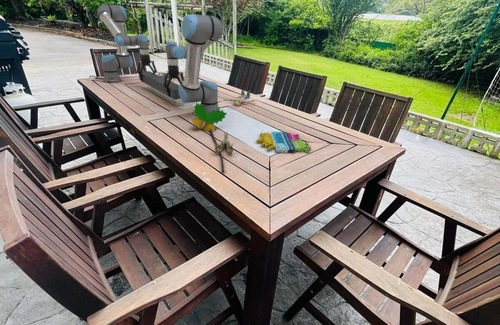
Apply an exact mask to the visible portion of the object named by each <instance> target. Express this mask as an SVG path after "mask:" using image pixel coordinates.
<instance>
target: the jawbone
mask: <svg viewBox="0 0 500 325" xmlns="http://www.w3.org/2000/svg"><path fill="white" fill-rule="evenodd" d="M223 135H224V136H223V140H222V139H221V142H220V144H218V142H217V141H216V144H217V146H216V144H215V148H214V149H215V152H214V154H215V155H217V156H218V155H219V156H220V154H219V152H221V153H222V152H223V151H224V150H226V152H227V153H228V155H229V156H233V155H234V154H233V153H234V148H233V144H234V143H230V140H228V139H229V138H228V137H229V136H228V135H229V133H228V131H226V132H224V134H223Z"/></svg>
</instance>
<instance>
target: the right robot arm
mask: <svg viewBox="0 0 500 325" xmlns="http://www.w3.org/2000/svg"><path fill="white" fill-rule="evenodd" d="M181 34H182V37H183V38H184V41H185V42H186V43H187V44H186V45H182V46H181V45H178V43H177V42H176V41H173V40H171V41H169V40H167V41H166V42H165V51H166V61H167V71H168V72H163V73H164V82H163V87H165V88H166V92H167V95H168V96H167V97H168V98H170V90H169V88H168V87H169V85H170V82H172V80H174V79H176V80H177V81H178V83H179V84H178V85H179V86H178V92H179V96H180V99H179V100H181V102H182V103H184V104H192V103H196V102H197V103H200V104H201V106H204V109H206V112H208V113H211V112H212V110H214V111H216V110H217V109H219V111H221V110H220V109H221V107H220V106H219V102H218V99H219V98H218V97H219V87H218V84H217V83H216V82H215V81H211V80H200V81H199V79H200V71H201V62H202V58H203V57H204V53H205V51H206V50H207V49H208V48H209V47H210V46H211V45H212V44H213V43H216V42H218V41H219V40H220V39H221V38H222V37H223V34H224V26H223V24H222V22H221V20H220V19H219V18H217V17H216V16H214V15H206V14H205V15H204V14H195V13H193V14H186V15H185V16H183V19H182V21H181ZM183 59H185V70H184V72H182V71H180V68H179V60H183ZM179 74H180V75H179ZM168 75H169V79H168V78H167V76H168ZM167 80H168V81H167ZM166 83H167V84H166ZM208 113H207V115H208ZM209 133H210V135H211V138H212V140H213V142H214V144H215V147H216V146H217V144H218V143H217V144H216V142H217V140H216V138H215V136H214V134H213V132H212V131H211V129H210V131H209ZM219 158H220V163H221V173H222V174H224V173H225V166H224V159H223V155H222V151H221V152H219Z"/></svg>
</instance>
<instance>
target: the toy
mask: <svg viewBox="0 0 500 325" xmlns="http://www.w3.org/2000/svg"><path fill="white" fill-rule="evenodd" d="M240 92H241V93H240V95H238V96H237V97H235V99H233V98H230V99H228V98H227V97H226V96H225V97H224V98H223V101H224V102H233V103H232V104H233V105H235V106H242V103H243V104H247V105H252V106H255V105H256V104H257V103H256V102H254V101H253V100H252V101H251V102H250V101H248V100H246V99H248V98H250V97H251V90H250V89H249V90H248V91H247V92H246V93H245V91H244V89H242V90H241V91H240Z"/></svg>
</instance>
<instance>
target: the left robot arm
mask: <svg viewBox="0 0 500 325" xmlns="http://www.w3.org/2000/svg"><path fill="white" fill-rule="evenodd" d="M96 14H97V17H98V19H99V20H100V22H102V23H104V25H105V26H106V27H107V29H108V30H109V31H110V33H111V34H112V36H113V38H114V39H113V40H114V44H115V45H116V53H115V54H105V55H101V63H102V68H103V77H98V76H95V75H89V76H88V78H89V79H90V78H95V80H98V79H99V80H102V79H103V82H105V83H119V82H121V81H122V78H121V76H120V73H119V70H122V69H131V68H132V67H133V64H134V62H133V60H134V59H133V57H132V56H131V55H130V53H129V52H128V47H133V46H135V47H136V46H137V47H138V48H139V54H140V55H139V56H140V60H138V61H137V66H136V74H138V77H139V76H140V78H141V81H140V82H142V83H144V82H143V77H142V74H141V73H142V72H144V71H143V70H144V68H145V67H149V68H150V70H151V72H152V73H154V74H157V73H156V72H158V70H157V68H156V65H155V61H154V60H151V56H150V46H149V37H148V35H147V34H143V33H140V34H139V33H138V34H137V35H126V33H125V24H126V21H127V20H128V15H127V14H128V13H127V11H126V9H125V8H124V6H122V5H119V4H108V3H107V4H106V3H105V4H104V3H103V4H101V5H99V6H98V7H97V13H96Z"/></svg>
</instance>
